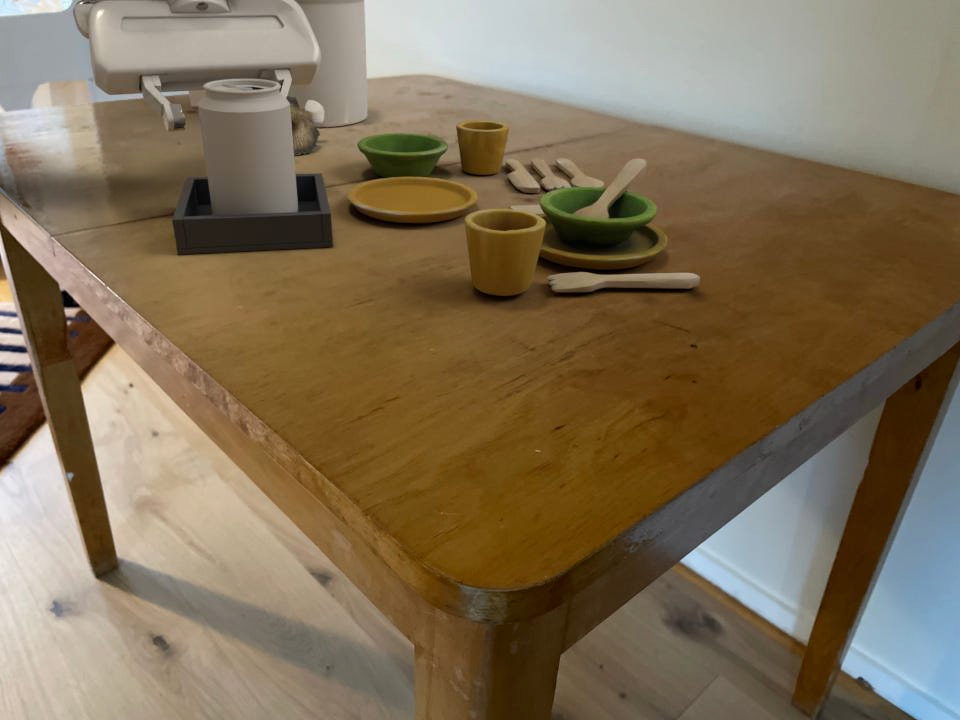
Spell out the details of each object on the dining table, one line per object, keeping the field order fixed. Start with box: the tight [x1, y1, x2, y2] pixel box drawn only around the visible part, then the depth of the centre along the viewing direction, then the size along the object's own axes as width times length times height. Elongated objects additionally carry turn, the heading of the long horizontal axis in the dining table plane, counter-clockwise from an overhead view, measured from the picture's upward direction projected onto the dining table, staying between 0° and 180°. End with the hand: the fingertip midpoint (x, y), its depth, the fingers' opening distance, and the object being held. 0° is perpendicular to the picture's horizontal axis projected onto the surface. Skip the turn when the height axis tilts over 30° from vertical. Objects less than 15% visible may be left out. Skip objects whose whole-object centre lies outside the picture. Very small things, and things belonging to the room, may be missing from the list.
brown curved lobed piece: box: [287, 96, 325, 156], centre depth 96 cm, size 8×7×9 cm
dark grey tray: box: [171, 172, 334, 256], centre depth 70 cm, size 13×13×3 cm
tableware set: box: [345, 119, 701, 297], centre depth 74 cm, size 41×28×6 cm
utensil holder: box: [287, 0, 368, 128], centre depth 108 cm, size 15×15×18 cm
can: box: [197, 79, 298, 215], centre depth 68 cm, size 8×8×12 cm
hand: (231, 123), depth 70 cm, fingers open, 8 cm apart
